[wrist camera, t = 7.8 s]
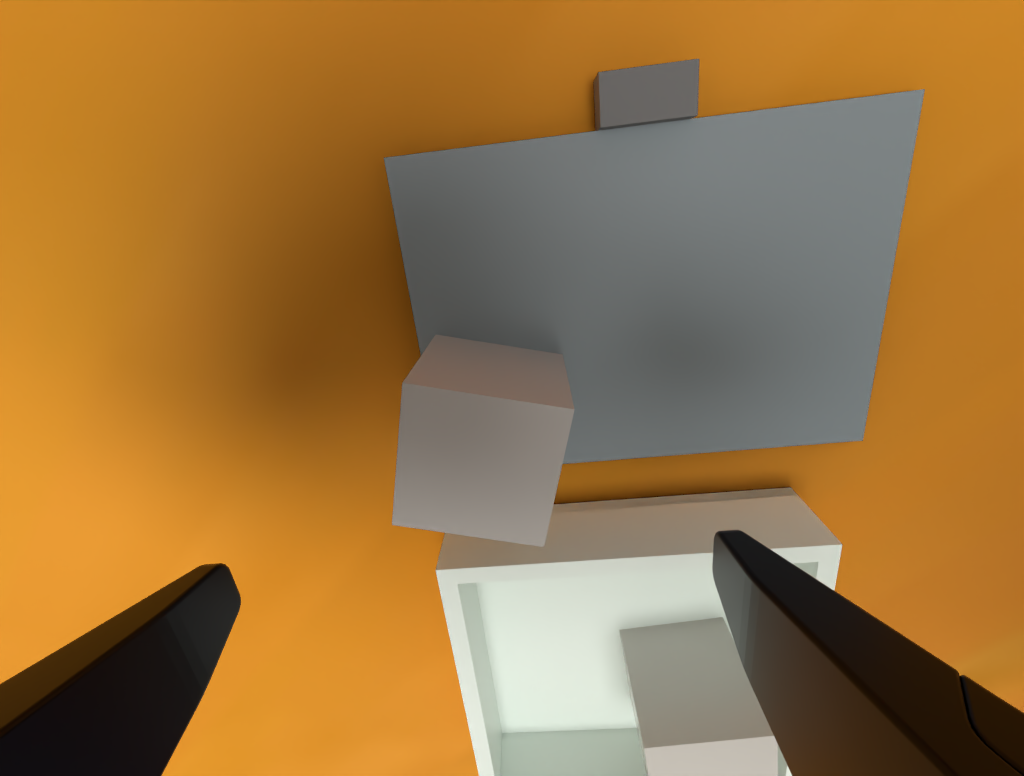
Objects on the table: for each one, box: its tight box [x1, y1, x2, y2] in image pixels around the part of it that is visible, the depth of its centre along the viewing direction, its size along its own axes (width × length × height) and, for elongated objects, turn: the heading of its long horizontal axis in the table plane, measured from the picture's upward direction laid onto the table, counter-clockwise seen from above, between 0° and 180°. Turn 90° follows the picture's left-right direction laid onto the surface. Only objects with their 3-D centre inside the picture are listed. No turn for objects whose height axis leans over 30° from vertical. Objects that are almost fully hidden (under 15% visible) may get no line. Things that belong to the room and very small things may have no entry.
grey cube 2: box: [392, 335, 575, 547], centre depth 14 cm, size 4×4×4 cm
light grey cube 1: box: [619, 617, 778, 776], centre depth 17 cm, size 4×4×4 cm
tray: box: [436, 487, 842, 776], centre depth 18 cm, size 12×12×3 cm
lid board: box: [384, 59, 925, 464], centre depth 14 cm, size 14×11×1 cm
